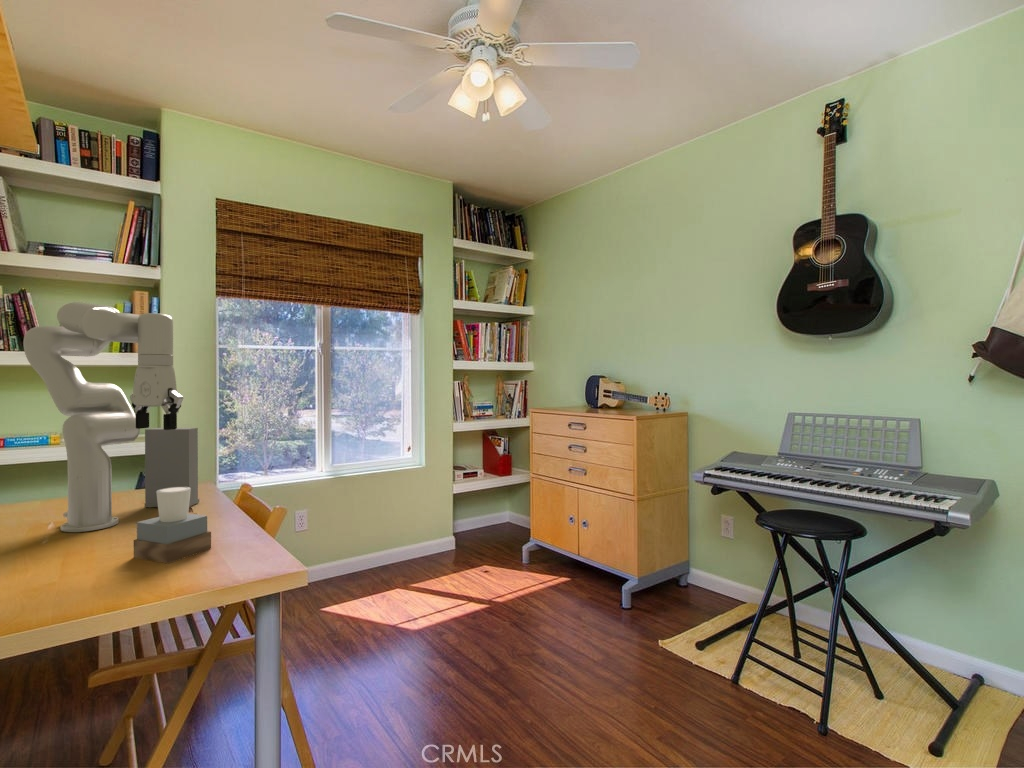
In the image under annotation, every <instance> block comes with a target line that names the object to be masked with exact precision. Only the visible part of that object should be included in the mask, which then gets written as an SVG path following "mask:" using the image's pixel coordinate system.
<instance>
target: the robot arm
mask: <svg viewBox="0 0 1024 768" xmlns="http://www.w3.org/2000/svg"><path fill="white" fill-rule="evenodd" d="M56 319H57V321H58V323H59V324H60V325H61V326H60V325H40V326H35V327H31V328H30V329H29V330H27V331H26V332H25V334H24V336H23V351H24V354H25V357H26V359H27V361H28V363H29V364H30V366H31V367H32V369H33V370H34V372H36V373H37V374H38V375H39V377H40V378H41V379H42V381H43V382H44V385H45V387H46V389H47V391H48V393H49V395H50V397H51V399H52V401H53V402H54V404H55V407H56V408H57V409H58V411H59V412H60V413H61V414H62V415H63V416H67V417H68V418H67V419H65V421H63V425H62V428H61V430H62V438H63V440H64V444H65V449H66V458H67V463H66V464H67V510H66V512H64V513H63V515H62V516H63V518H67V520H66V522H65V523H63V524H61V525H60V531H61V532H64V533H82V532H92V531H97V530H102V529H106V528H110V527H111V528H112V527H113V526H116V525H118V524H119V523H120V522H119V520H120V519H119V517H117V516H113V501H112V500H113V498H112V497H113V496H112V495H113V490H112V489H113V488H112V486H113V485H112V484H113V483H112V482H113V481H112V480H113V479H112V478H113V474H112V461H111V457H110V456H109V454H107V452H106V451H105V450H104V449H103V447H104V446H111V445H112V446H113V445H119V444H120V445H121V444H127V443H130V442H133V441H135V440H136V439H137V438H138V437H139V435H140V431H141V429H150V412H148V411H149V410H150V408H152V407H153V408H154V407H155V408H156V407H160V406H161V408H162V410H163V411H164V413H163V418H162V419H163V422H162V423H163V427H162V428H163V429H164V430H172V429H177V428H178V423H177V422H178V414H179V411H180V408H181V407H182V403H183V400H184V396H183V395H181V394H180V393H178V391H177V380H176V379H177V378H176V373H175V368H174V321H173V318H172V316H171V315H168V314H166V313H165V314H164V313H157V312H156V313H154V312H148V313H147V312H146V313H141V314H137V313H130V312H129V313H128V312H120V311H119V310H118V309H117V308H115V307H113V306H110V305H105V304H96V303H90V302H89V303H87V302H79V301H78V302H75V301H74V302H68V303H65V304H64V305H62V306H61V307H60V308H59V309H58V311H57V313H56ZM111 342H112V343H113V342H114V343H129V344H130V343H133V344H137V367H136V369H135V373H134V379H133V389H132V394H131V395H130V396H129V399H130V402H131V403H130V402H129V400H128V397H127V396H126V394H125V393H124V390H122V388H121V387H120V386H118V385H116V384H114V383H110V382H90V381H87V380H86V378H85V377H84V376H83V374H82V372H81V370H80V369H79V368H78V367H77V366H76V365H74V364H73V363H72V362H71V361H69V360H67V359H66V358H64V357H95V356H97V355H99V354H100V353H102V352H103V350H105V348H106V347H107V346H108V345H109V344H110V343H111ZM62 356H64V357H62Z"/></svg>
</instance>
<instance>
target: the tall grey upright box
mask: <svg viewBox="0 0 1024 768" xmlns="http://www.w3.org/2000/svg"><path fill="white" fill-rule="evenodd" d="M198 434H199V432H198V427H177V429H172V430H164V429H163V427H152V428H144V455H145V456H144V466H145V467H144V475H145V476H144V477H145V479H144V480H145V481H144V482H145V483H144V490H145V491H144V493H145V494H144V495H145V497H144V498H145V499H144V500H145V503H144V508H146V507H149V508H158V502H157V494H156V491H157V490H160V489H164V488H170V487H190V488H191V491H190V501H189V505H190V507H192V506H194V505H197V504H200V498H199V474H198V473H199V467H198V466H199V463H198V462H199V460H198V459H199V453H198V451H199V447H198V446H199V442H198V441H199V438H198V437H199V436H198Z"/></svg>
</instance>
